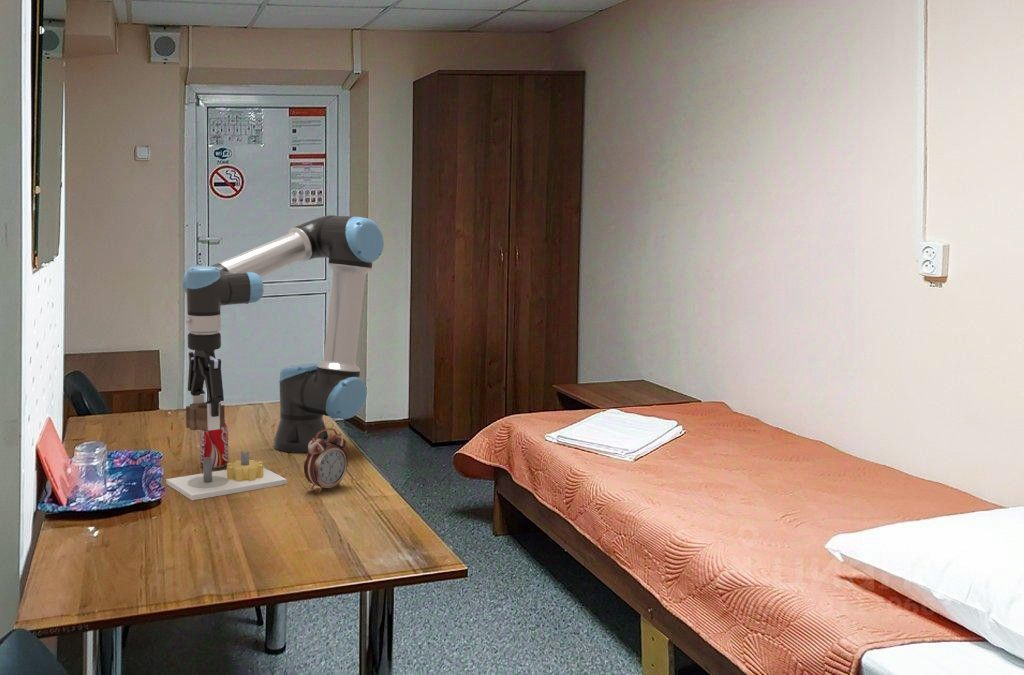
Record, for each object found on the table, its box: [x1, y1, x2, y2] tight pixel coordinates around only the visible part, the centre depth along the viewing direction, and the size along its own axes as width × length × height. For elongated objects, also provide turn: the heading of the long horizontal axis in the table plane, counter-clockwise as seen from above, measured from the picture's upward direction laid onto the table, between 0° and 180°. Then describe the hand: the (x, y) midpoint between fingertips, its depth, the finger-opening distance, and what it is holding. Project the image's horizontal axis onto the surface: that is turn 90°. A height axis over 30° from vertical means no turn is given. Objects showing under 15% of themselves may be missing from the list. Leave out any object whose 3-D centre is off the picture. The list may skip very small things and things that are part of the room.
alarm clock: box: [303, 427, 349, 494], centre depth 258 cm, size 11×5×15 cm, turn 141°
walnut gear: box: [185, 401, 226, 431], centre depth 255 cm, size 9×9×5 cm
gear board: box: [165, 451, 288, 501], centre depth 260 cm, size 24×16×7 cm, turn 128°
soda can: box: [199, 422, 229, 470], centre depth 276 cm, size 7×7×12 cm
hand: (205, 425), depth 256 cm, fingers closed on walnut gear, 9 cm apart
